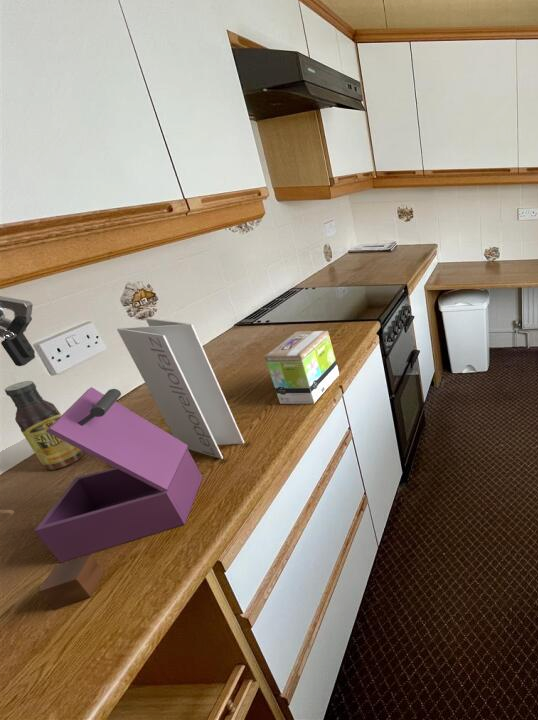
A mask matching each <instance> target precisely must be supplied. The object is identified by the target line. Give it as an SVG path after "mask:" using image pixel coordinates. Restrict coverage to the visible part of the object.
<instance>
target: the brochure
mask: <svg viewBox="0 0 538 720" xmlns="http://www.w3.org/2000/svg"><path fill="white" fill-rule="evenodd" d="M145 320H146V323H147V325H148V326H136V327H135V326H134V327H119V328H116V331H117V332H118V334H119V336H120V339H121V340H122V342H123V344H124V346H125V347H126V349H127V351H128V353H129V355H130V357H131V359H132V360H133V363H134V365H135V366H136V369H137V370H138V372H139V374H140V375H141V378H142V379H143V381H144V384H145V385H146V387H147V389H148V390H149V393H150V395H151V397H152V399H153V400H154V402H155V404H156V406H157V407H158V410H159V411H160V413H161V416H162V417H163V419H164V421H165V423H166V425H167V426H168V428H169V430H170V432H171V435H172V436H173V437H175V438H177V439H178V440H180V441H182V442H183V443H185V444H187V445H188V447H187V449H188V450H189V451H194V452H196V453H200V454H203V455H206V456H209V457H210V456H211V457H213V458H217V459H221V460H223V459H224V456H223V455H222V452H221V451H220V448H219V446H221V445H222V446H223V445H224V446H225V445H242V444H245V440H244V438H243V435H242V433H241V431H240V429H239V427H238V424H237V422H236V420H235V417H234V415H233V413H232V410H231V408H230V406H229V404H228V401H227V400H226V397H225V395H224V392H223V391H222V388H221V385H220V383H219V382H218V379H217V376H216V375H215V372H214V370H213V368H212V365H211V363H210V360H209V358H208V355H207V354H206V351H205V349H204V347H203V345H202V343H201V341H200V338H199V336H198V334H197V331H196V329H195V326H194V324H193V323H187V322H181V321H173V320H165V319H164V320H163V319H155V318H149V317H148V318H147V317H146V318H145Z"/></svg>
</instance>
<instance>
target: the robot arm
mask: <svg viewBox="0 0 538 720" xmlns="http://www.w3.org/2000/svg"><path fill="white" fill-rule="evenodd" d="M5 310H9V311H11V312H13V315H14V317H13V319H12V320H11V319H9V318H6V313H5ZM32 314H33V303H32V302H31V301H29V300H25V299H20V298H13V297H8V296H2V295H0V338H2V339H3V340H2V341H0V344H1V346H2V347H3V349H4V350H5V352H6V353H7V355H8V356H9V358H10V359H11V361H12V362H13V364H14V365H15V366H17V367H23V366H26V365H27V364H29V363H30V362H31V361H32V360H34V359H35V358H36V352H35V349H34V348H33V346H32V344H31V343H30V341H29V340H28V338H27V337H26V335H25V332H26V331H27V327H28V326H29V325H30V323H31V322H32V320H33V318H32Z"/></svg>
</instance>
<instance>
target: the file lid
mask: <svg viewBox="0 0 538 720" xmlns="http://www.w3.org/2000/svg"><path fill="white" fill-rule="evenodd" d="M121 396H122V393H121V391H120V390H119V389H117V388H111V389H108V390H107V391H106V392H105V393H102V392H101V391H99V390H97V389H95V388H94V387H92V386H91V387H90V388H88V389H87V390H86V391H85V392H83V394H82V395H81V396H80V397H79V398H78V399H76V401H74V402H73V404H72V405H71V406H70V407H69V408H67V410H66V411H64V413H62V414H61V415H62V416H61V417H60V418H59V419H58V420H57V421H56V422H55V423H54V424H53V425H52V426H51V427H50V428H49V429H48V430H46V432H47V433H49V434H51V435H53V436H55V437H57V438H59V439H61V440H63V441H65V442H67V443H69V444H71V445H73V446H75V447H77V448H78V449H80V450H81V451H82V452H85V453H87V454H88V455H90V456H92V457H94V458H96V459H98V460H100V461H101V462H104V463H106V464H108V465H109V466H111V467H112V468H114V467H115V468H117V469H119V470H121V471H123V472H125V473H127V474H129V475H131V476H133V477H135V478H137V479H138V480H140V481H142V482H144V483H146V484H148V485H150V486H152V487H154V488H156V489H158V490H160V491H162V492H165V491H166V490H167V489H168V487H169V485H170V483H171V481H172V478H173V476H174V474H175V472H176V470H177V468H178V466H179V464H180V462H181V460H182V457H183V455H184V453H185V451H186V449H187V447H188V445H187V444H185V443H183V442H182V441H180V440H178V439H177V438H175V437H174V436H173V434H170V433H168V432H167V431H165V430H164V429H162V428H160V427H159V426H157V425H156V424H154V423H152V422H150V421H149V420H147V419H145V418H144V417H141V415H139V414H137V413H135V412H134V411H132V410H130V409H129V408H127V407H125V406H124V405H122V404H120V403H119V402H117V401H118V400H119V398H120V397H121Z"/></svg>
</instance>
